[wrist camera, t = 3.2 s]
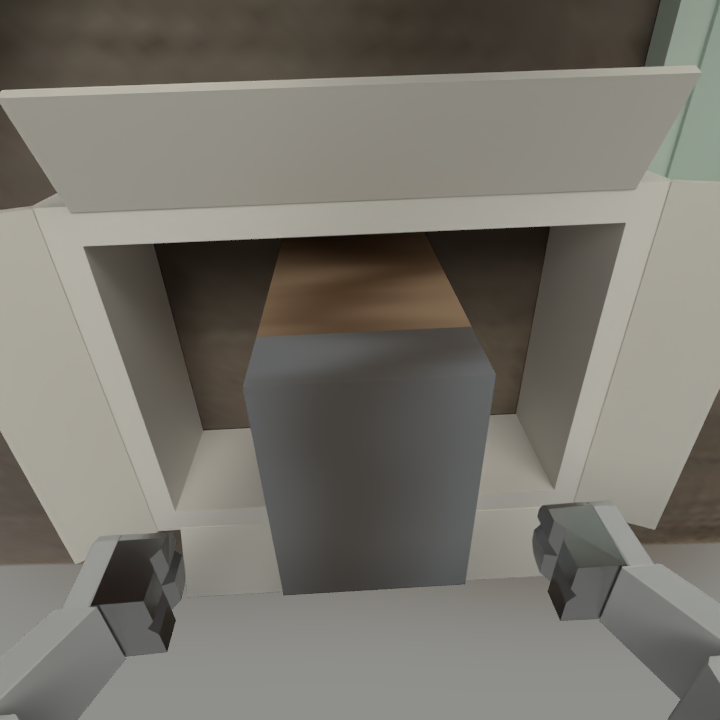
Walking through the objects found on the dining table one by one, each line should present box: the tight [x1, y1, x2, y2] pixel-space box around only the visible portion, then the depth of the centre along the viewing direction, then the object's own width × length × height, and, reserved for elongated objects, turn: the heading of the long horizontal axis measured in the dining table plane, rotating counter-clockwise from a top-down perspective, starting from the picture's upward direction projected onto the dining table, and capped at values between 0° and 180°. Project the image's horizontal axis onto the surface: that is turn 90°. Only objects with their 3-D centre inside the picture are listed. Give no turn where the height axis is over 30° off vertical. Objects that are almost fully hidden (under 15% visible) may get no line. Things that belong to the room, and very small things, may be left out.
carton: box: [0, 65, 720, 598], centre depth 17 cm, size 21×17×6 cm
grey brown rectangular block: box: [243, 232, 496, 595], centre depth 15 cm, size 5×7×9 cm
